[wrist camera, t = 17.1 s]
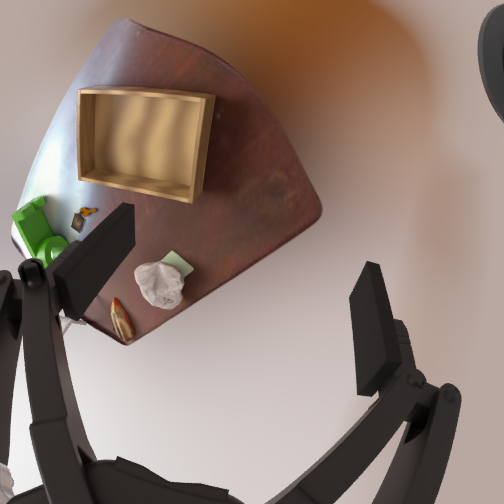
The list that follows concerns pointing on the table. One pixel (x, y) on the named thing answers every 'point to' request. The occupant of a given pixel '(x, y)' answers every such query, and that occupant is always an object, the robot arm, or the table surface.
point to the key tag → (78, 220)
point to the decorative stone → (121, 321)
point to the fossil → (160, 284)
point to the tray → (144, 139)
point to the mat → (178, 263)
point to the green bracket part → (38, 232)
